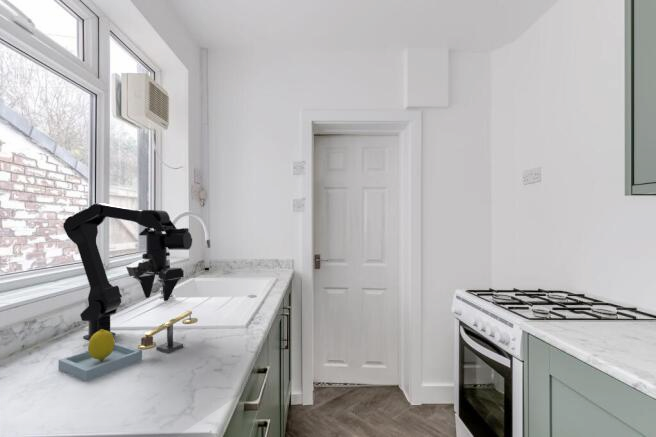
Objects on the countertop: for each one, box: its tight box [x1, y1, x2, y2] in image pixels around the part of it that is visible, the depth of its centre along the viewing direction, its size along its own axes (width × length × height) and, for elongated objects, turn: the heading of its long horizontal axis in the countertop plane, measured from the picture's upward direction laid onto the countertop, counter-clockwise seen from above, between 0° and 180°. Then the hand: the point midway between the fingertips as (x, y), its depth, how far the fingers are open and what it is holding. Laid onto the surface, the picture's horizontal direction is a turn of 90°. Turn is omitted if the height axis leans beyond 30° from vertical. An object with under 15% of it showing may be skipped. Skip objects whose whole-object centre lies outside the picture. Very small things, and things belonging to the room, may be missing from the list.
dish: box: [57, 342, 143, 383], centre depth 83 cm, size 13×13×2 cm
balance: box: [137, 310, 199, 354], centre depth 93 cm, size 5×18×9 cm, turn 152°
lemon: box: [87, 329, 116, 361], centre depth 83 cm, size 6×6×8 cm
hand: (156, 299), depth 102 cm, fingers open, 9 cm apart
